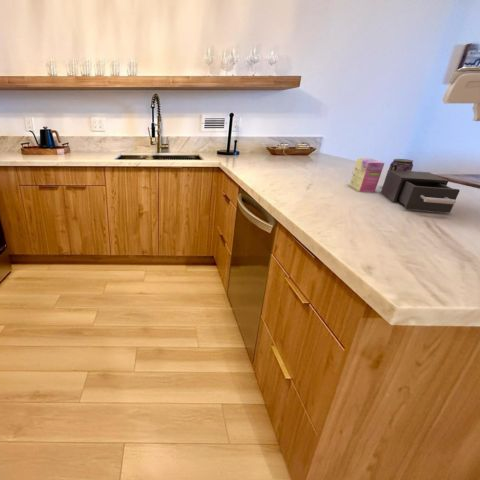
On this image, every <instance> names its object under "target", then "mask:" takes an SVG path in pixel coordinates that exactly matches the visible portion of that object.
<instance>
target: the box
mask: <svg viewBox="0 0 480 480" xmlns="http://www.w3.org/2000/svg"><path fill="white" fill-rule="evenodd" d="M384 166H385V162H382V161H379V160H376V159H374V158H369V157H368V158H367V157H366V158H365V157H363V158H362V157H357V158H356V161H355V165H354V168H353V172H352V175H351V178H350V182H349V185H348V186H349V187H351V188H352V189H354V190H355V191H358V192H360V193H375V192H376V189H377V186H378V184H379V181H380V177H381V176H382V172H383V170H384Z"/></svg>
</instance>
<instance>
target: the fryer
mask: <svg viewBox="0 0 480 480" xmlns="http://www.w3.org/2000/svg"><path fill="white" fill-rule="evenodd" d="M404 180H409V181H424V182H439V183H442V184H444V185H446V186H448V183H449V180H448V179H445V178H443V177H441V176H439V175H437V174H434V173H431V172H429V171H415V170H411V171H398V170H389V169H388V170H387V172H386V175H385V178H384V182H383V184H382V188H381V191H380V193H381V194H382V195H383V196H385V198H387V200H390V201H391V203H393V204H402V203H401V202H400V201H399V200H397V198H398V195H399V192H400V190H401V187H402V184H403V181H404Z"/></svg>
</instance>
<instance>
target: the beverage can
mask: <svg viewBox="0 0 480 480" xmlns="http://www.w3.org/2000/svg"><path fill="white" fill-rule="evenodd" d="M413 162H414V160H412V159H408V158H407V159H406V158H394V159H393V161H391V162H390V165H389V168H388V170H398V171H413V167H414V164H413Z"/></svg>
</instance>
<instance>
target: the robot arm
mask: <svg viewBox="0 0 480 480" xmlns="http://www.w3.org/2000/svg"><path fill="white" fill-rule="evenodd" d="M441 100H442V103H443V104H448V105H449V104H473V105H472V112H473V115H474V116H473V118H472V122H480V65H476V66H462V67H461V68H459V69H456V70H455V71H454V72H453V73H452V74H451V76H450V80H449V84H448V86H447V88H446V90H445V92H444V95H443V97H442V99H441Z"/></svg>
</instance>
